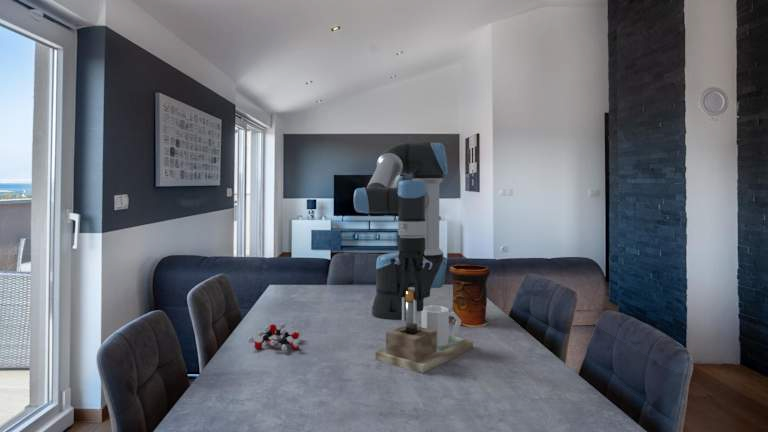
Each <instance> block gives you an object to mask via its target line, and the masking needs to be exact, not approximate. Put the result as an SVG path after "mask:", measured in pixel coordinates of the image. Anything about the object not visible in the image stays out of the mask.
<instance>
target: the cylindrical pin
mask: <svg viewBox="0 0 768 432" xmlns="http://www.w3.org/2000/svg"><path fill="white" fill-rule="evenodd" d="M414 298H416V296H415V289H408V290H406V321H405V325H406V334H410V335H415V334H417V326H418V323H416V324H415V323H413V299H414Z"/></svg>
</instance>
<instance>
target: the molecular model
mask: <svg viewBox="0 0 768 432" xmlns="http://www.w3.org/2000/svg"><path fill="white" fill-rule="evenodd" d="M285 328H286V324H285V323H283V322H282V323H280V325H279V329H278V328H277V325H275V324H274V323H271V324H270V325H269V326H268V325H267V326H265V327H264V331H263V330H259V331H258V332H257V336H258V337H260V338H261V337H262V340H261V341H255V340H254V338H253V337H252V336H250V337H248V338H247V342H249V343H254V345H253V346H254V348H255V349H254V350H261V349H262V348H263V343H264V345H265V346H271V347H272V348H273V347H277V345H278V344H281V350H282V351H283V352H286V351H287V350H288V346H290V347H291V349H292V350H293V351H297V350H299V347H300V345H299V344H300V343H299V341H296V340H298V339H299V336H301V335H300V334H301V332H300V331H299V330H296V331H294V332H292V334H289V332H288V331H286V329H285ZM273 336H275V338H272V339H271V337H273ZM288 337H291V339H293V340H292V341H289V340H288Z"/></svg>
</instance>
